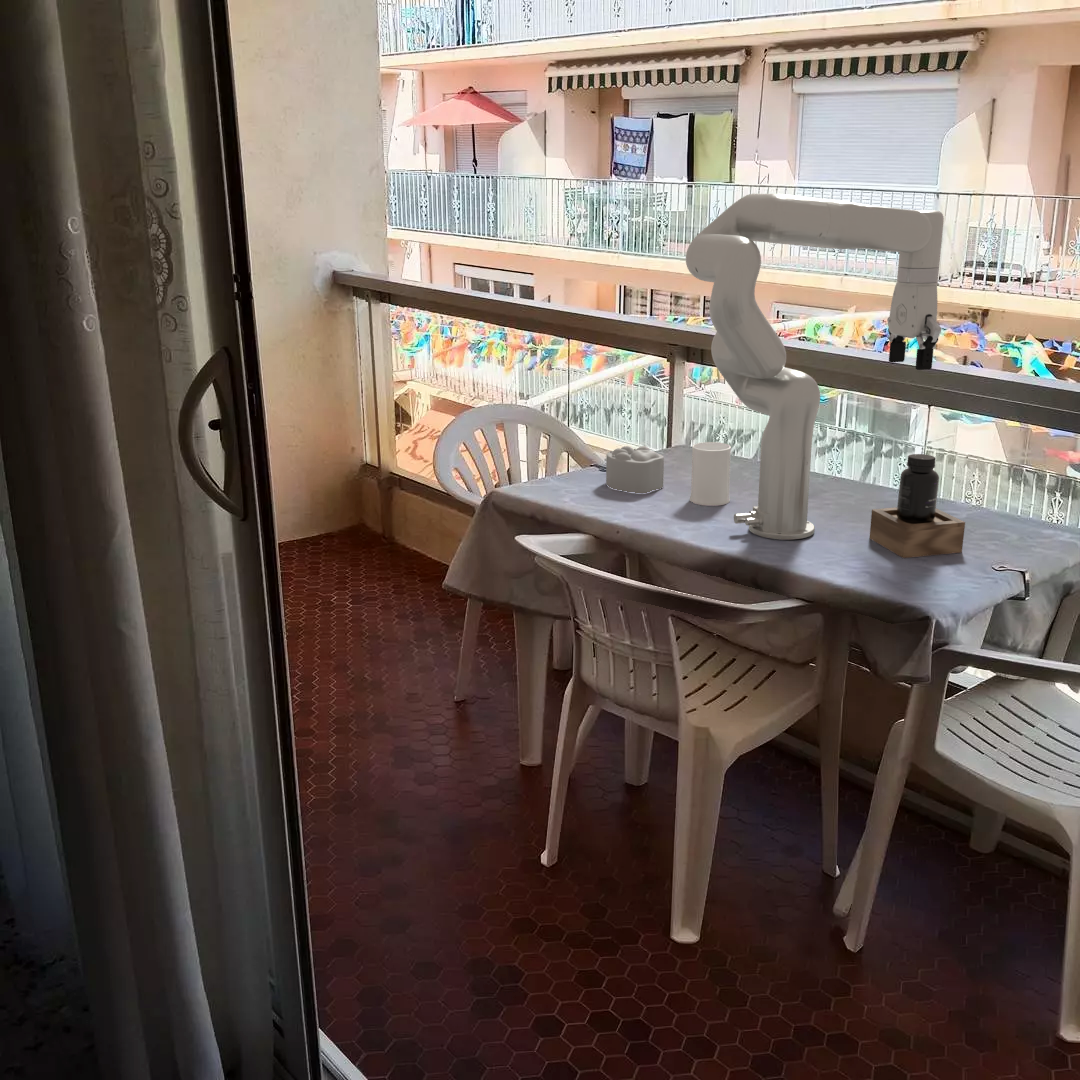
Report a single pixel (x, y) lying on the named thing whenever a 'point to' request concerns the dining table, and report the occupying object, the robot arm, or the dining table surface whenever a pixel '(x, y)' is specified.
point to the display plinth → (917, 534)
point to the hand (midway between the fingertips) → (909, 365)
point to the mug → (710, 474)
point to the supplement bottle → (918, 490)
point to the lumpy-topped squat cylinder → (634, 469)
